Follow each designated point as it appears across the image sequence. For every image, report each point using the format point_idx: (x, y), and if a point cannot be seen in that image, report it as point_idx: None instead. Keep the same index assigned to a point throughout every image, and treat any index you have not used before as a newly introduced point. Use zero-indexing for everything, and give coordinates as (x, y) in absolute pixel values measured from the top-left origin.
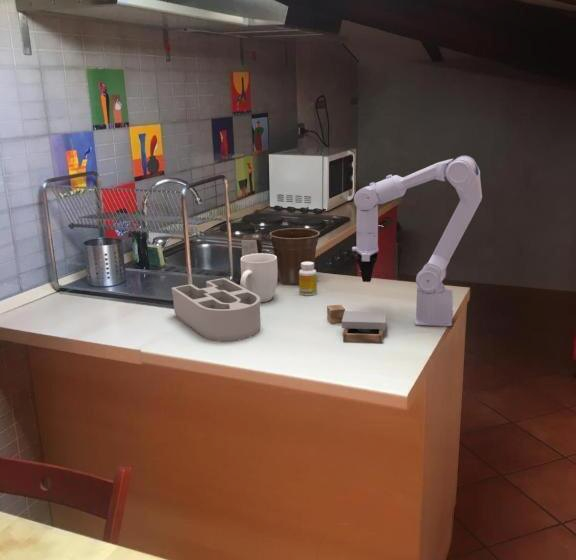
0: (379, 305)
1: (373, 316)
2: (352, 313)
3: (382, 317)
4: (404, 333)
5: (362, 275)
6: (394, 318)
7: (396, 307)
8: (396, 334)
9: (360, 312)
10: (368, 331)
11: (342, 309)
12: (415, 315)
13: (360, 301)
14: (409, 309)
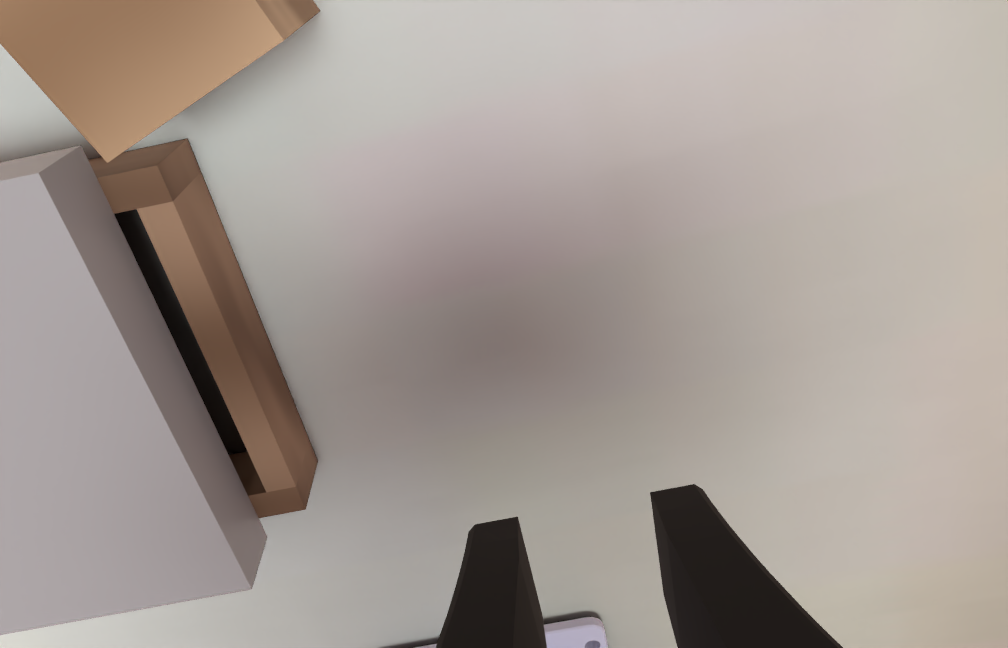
0: (846, 312)
1: (51, 523)
2: (7, 300)
3: (76, 594)
4: (180, 623)
5: (449, 638)
6: (492, 504)
7: (795, 460)
8: None
9: (102, 375)
10: None
11: (79, 128)
12: (559, 636)
13: (991, 75)
14: None
